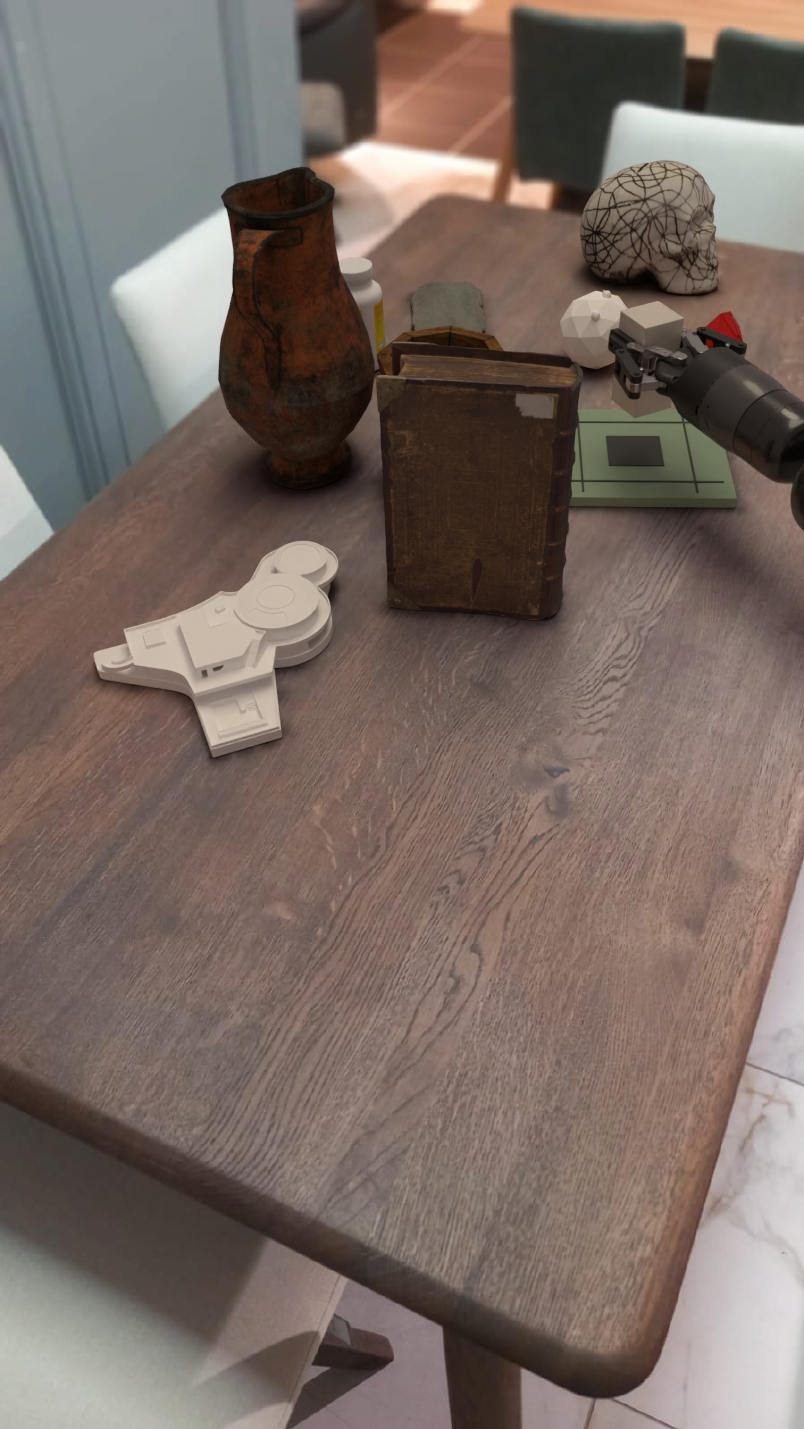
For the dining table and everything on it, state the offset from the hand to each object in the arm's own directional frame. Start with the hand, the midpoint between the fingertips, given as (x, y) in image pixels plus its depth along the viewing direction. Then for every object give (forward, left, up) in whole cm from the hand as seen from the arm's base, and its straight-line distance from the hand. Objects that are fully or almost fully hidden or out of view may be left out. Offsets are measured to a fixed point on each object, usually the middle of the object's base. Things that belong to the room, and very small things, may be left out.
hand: (633, 332), depth 115 cm
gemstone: (-11, -17, -14) cm, 25 cm away
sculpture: (-6, -45, -14) cm, 47 cm away
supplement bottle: (+32, -20, -14) cm, 40 cm away
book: (+16, +27, -14) cm, 34 cm away
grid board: (-1, +2, -14) cm, 14 cm away
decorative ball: (+1, -20, -14) cm, 24 cm away
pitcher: (+36, +5, -14) cm, 39 cm away
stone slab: (+21, -29, -14) cm, 38 cm away
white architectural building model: (+38, +36, -14) cm, 54 cm away
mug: (+17, +7, -14) cm, 23 cm away
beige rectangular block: (-1, +2, -7) cm, 7 cm away
